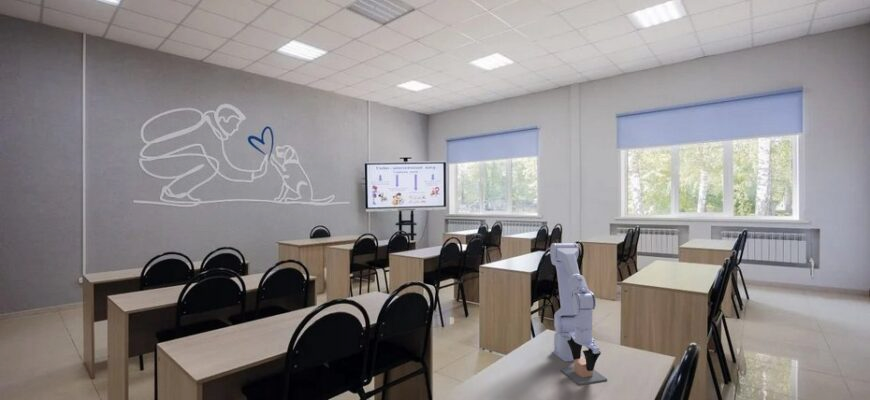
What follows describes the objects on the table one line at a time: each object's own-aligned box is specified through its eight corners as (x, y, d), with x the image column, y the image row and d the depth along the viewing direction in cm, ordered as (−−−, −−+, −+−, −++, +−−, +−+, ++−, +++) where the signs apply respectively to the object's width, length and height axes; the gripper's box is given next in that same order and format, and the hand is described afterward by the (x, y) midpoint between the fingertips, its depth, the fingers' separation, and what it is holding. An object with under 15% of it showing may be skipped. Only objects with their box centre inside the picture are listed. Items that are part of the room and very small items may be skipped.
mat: (560, 370, 144) (560, 368, 144) (587, 366, 146) (587, 364, 146) (579, 385, 133) (579, 383, 133) (607, 380, 136) (607, 378, 136)
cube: (574, 371, 141) (574, 359, 141) (584, 369, 142) (585, 357, 142) (581, 377, 137) (581, 364, 137) (592, 375, 138) (592, 363, 138)
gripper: (607, 333, 133) (607, 373, 134) (580, 319, 147) (580, 355, 148) (589, 335, 131) (588, 376, 132) (563, 321, 145) (563, 357, 146)
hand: (583, 365), depth 140 cm, fingers open, 7 cm apart
